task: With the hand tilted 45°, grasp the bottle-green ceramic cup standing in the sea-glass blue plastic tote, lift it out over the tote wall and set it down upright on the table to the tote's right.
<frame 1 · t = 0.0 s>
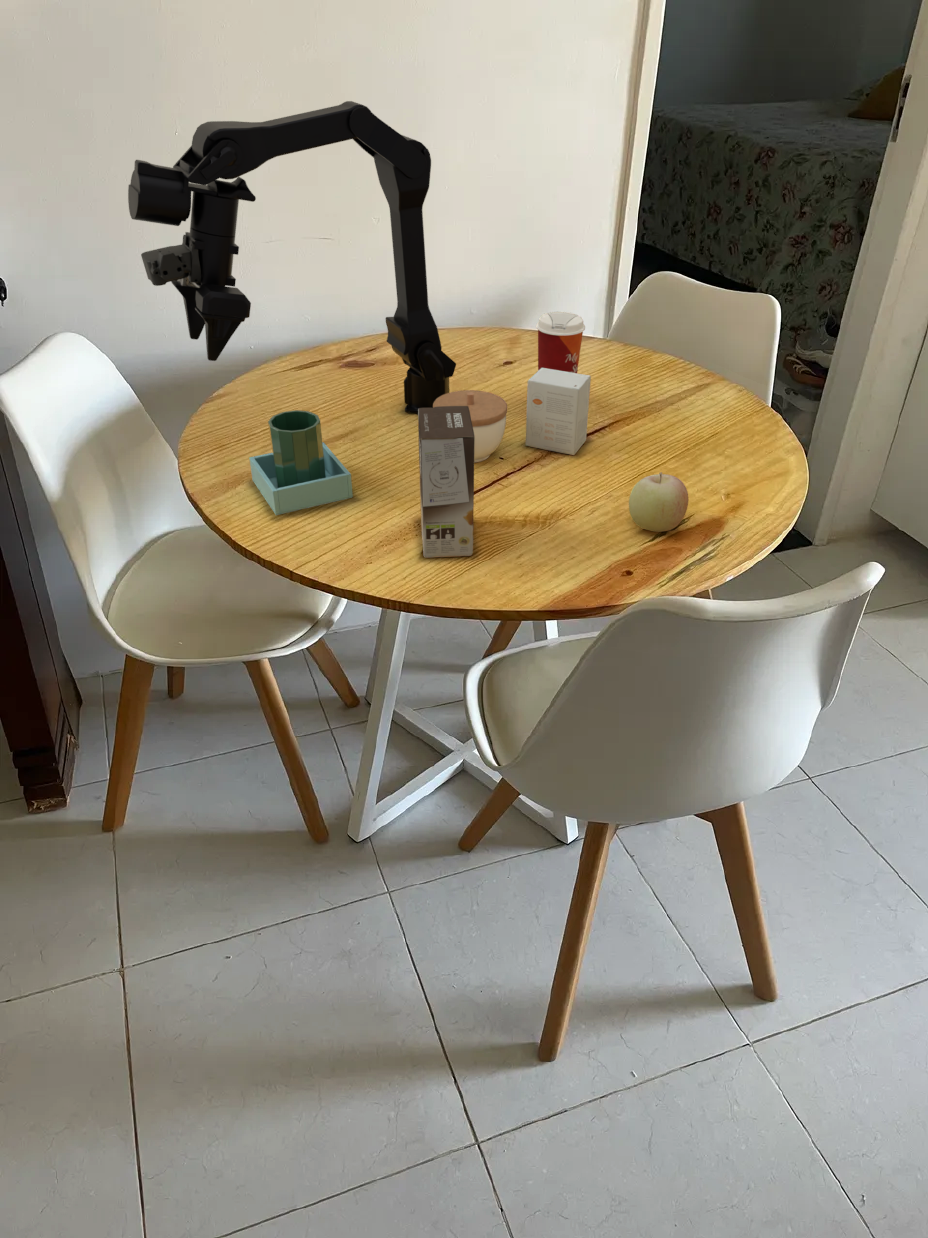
hand: (202, 349, 127), 15 cm above the table, tool pointing down, fingers open, 9 cm apart
trinket box: (469, 454, 136), on the table
cup: (301, 488, 127), resting on bin
fruit: (655, 527, 120), on the table
bin: (302, 491, 127), on the table
coffee box: (446, 539, 117), on the table
paper cup: (555, 404, 151), on the table
small box: (555, 445, 139), on the table
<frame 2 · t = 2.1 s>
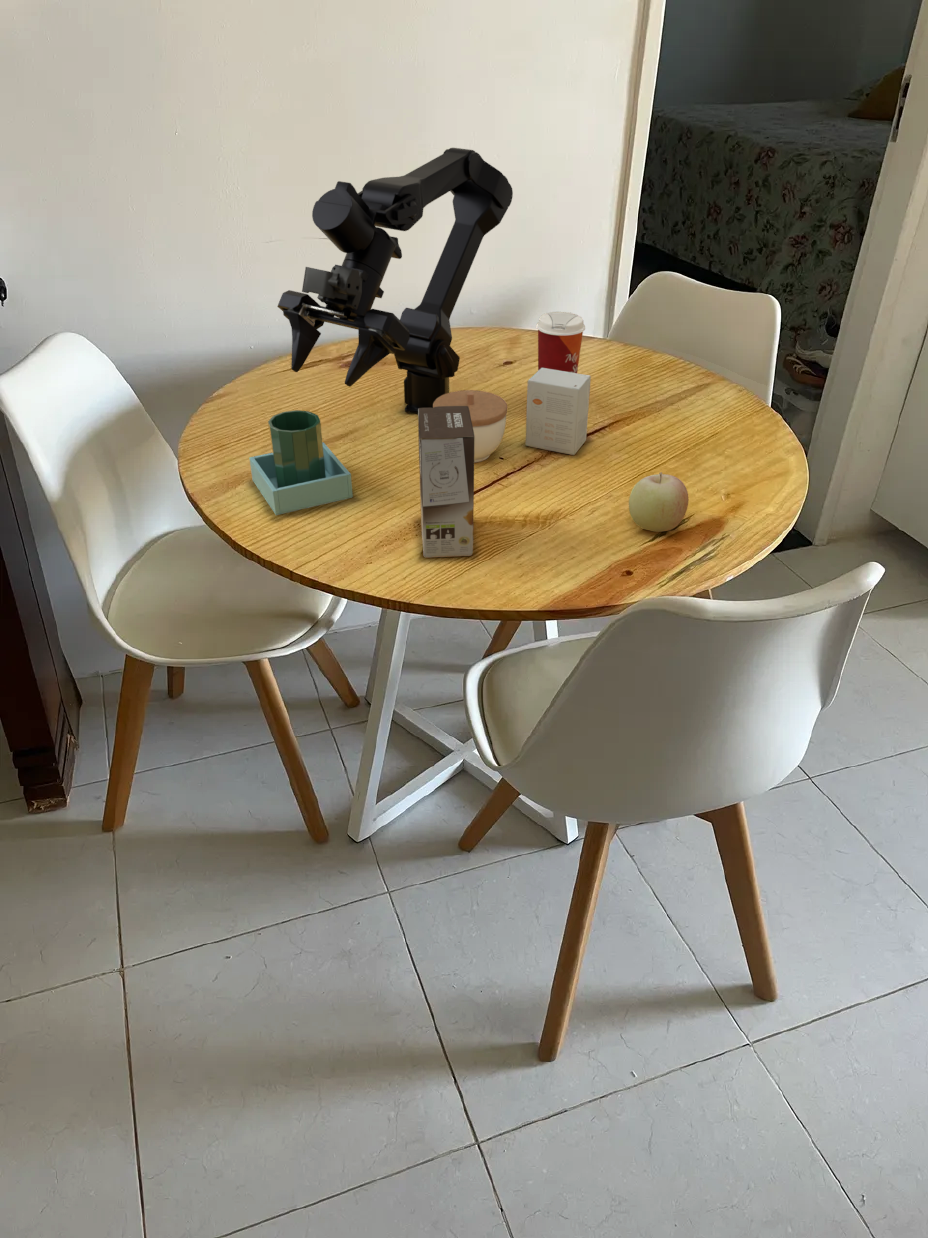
hand: (320, 377, 124), 14 cm above the table, tool tilted 45°, fingers open, 9 cm apart
nothing on the table moved.
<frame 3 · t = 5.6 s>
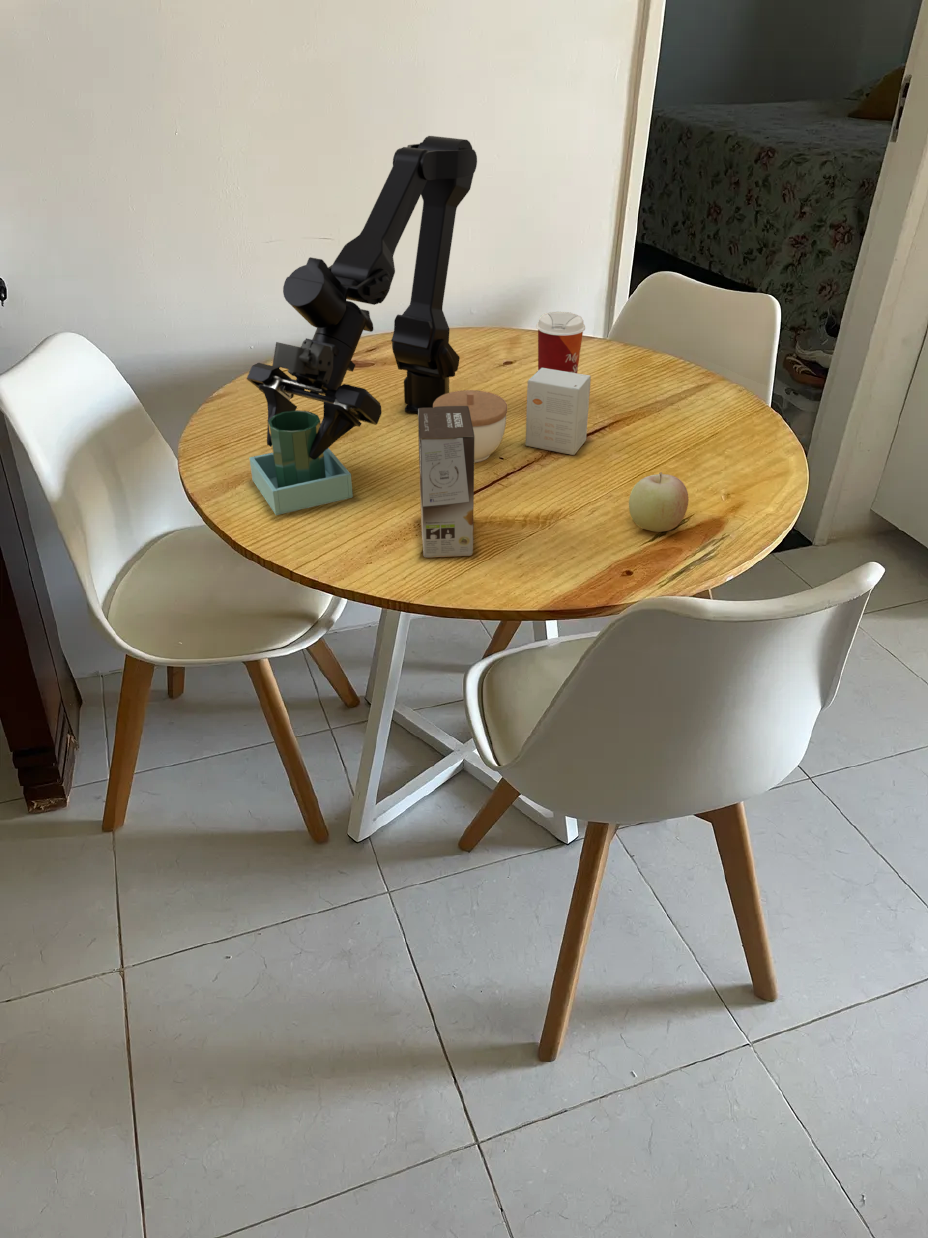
hand: (290, 451, 122), 7 cm above the table, tool tilted 45°, fingers closed on cup, 7 cm apart
cup: (301, 488, 127), point 1 cm above the table, touching bin, gripper
everything else where it was.
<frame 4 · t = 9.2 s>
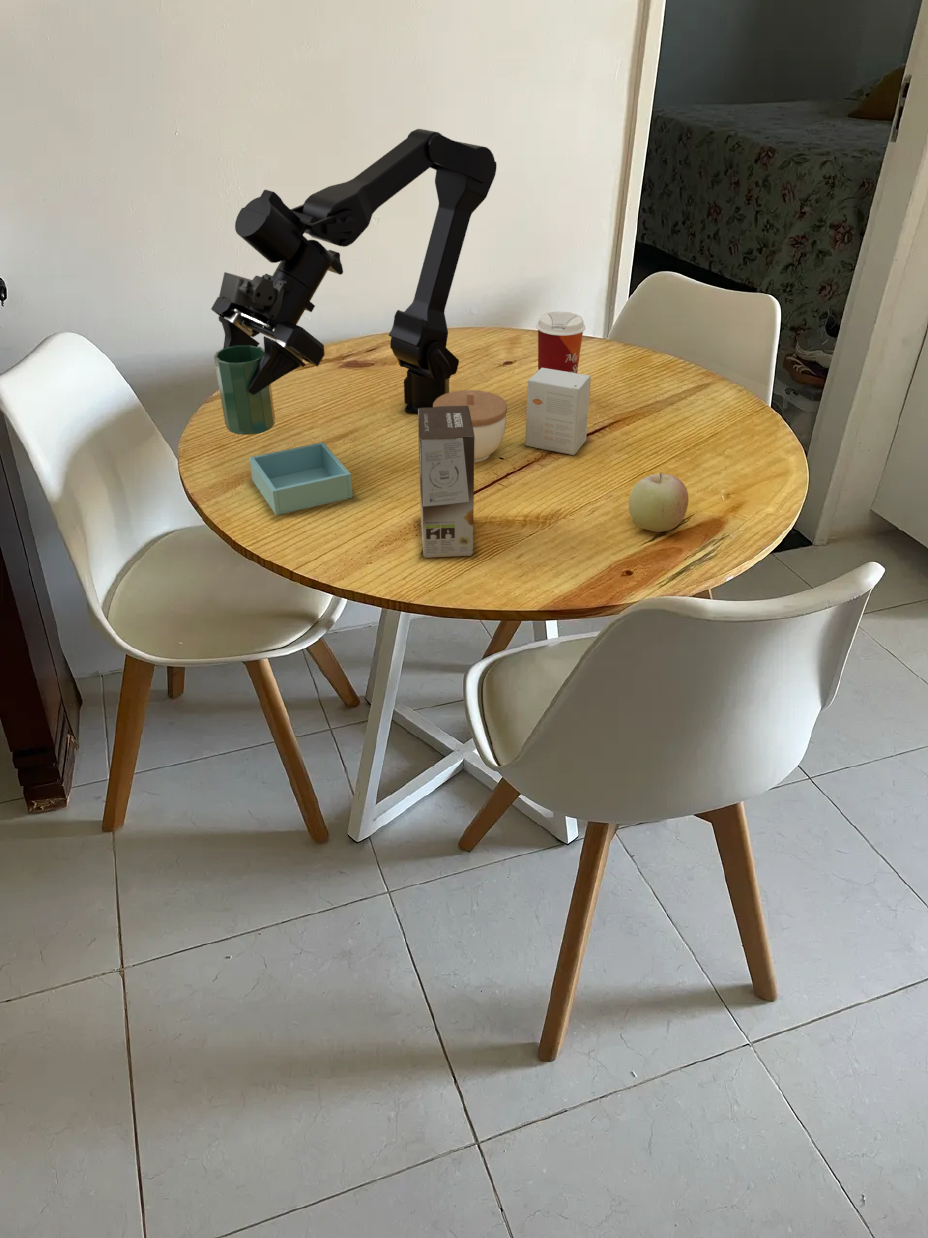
hand: (235, 384, 123), 13 cm above the table, tool tilted 45°, fingers closed on cup, 7 cm apart
cup: (250, 424, 127), point 7 cm above the table, touching gripper
everything else where it was.
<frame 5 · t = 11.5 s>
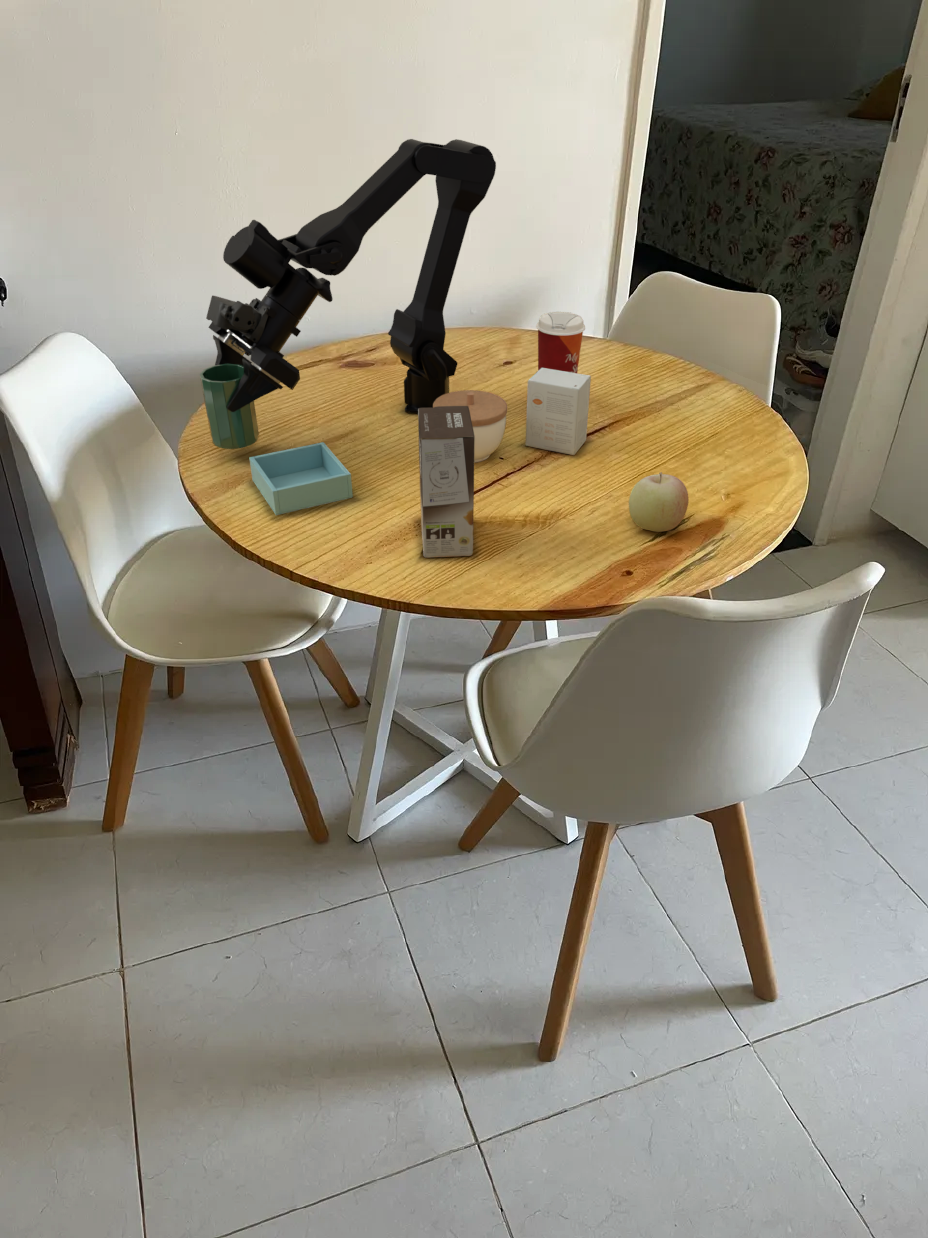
hand: (219, 401, 129), 9 cm above the table, tool tilted 45°, fingers closed on cup, 7 cm apart
cup: (235, 438, 133), point 3 cm above the table, touching gripper
everything else where it was.
when the fingers open (6 cm above the table, at t = 13.0 s): cup stays where it is, on the table.
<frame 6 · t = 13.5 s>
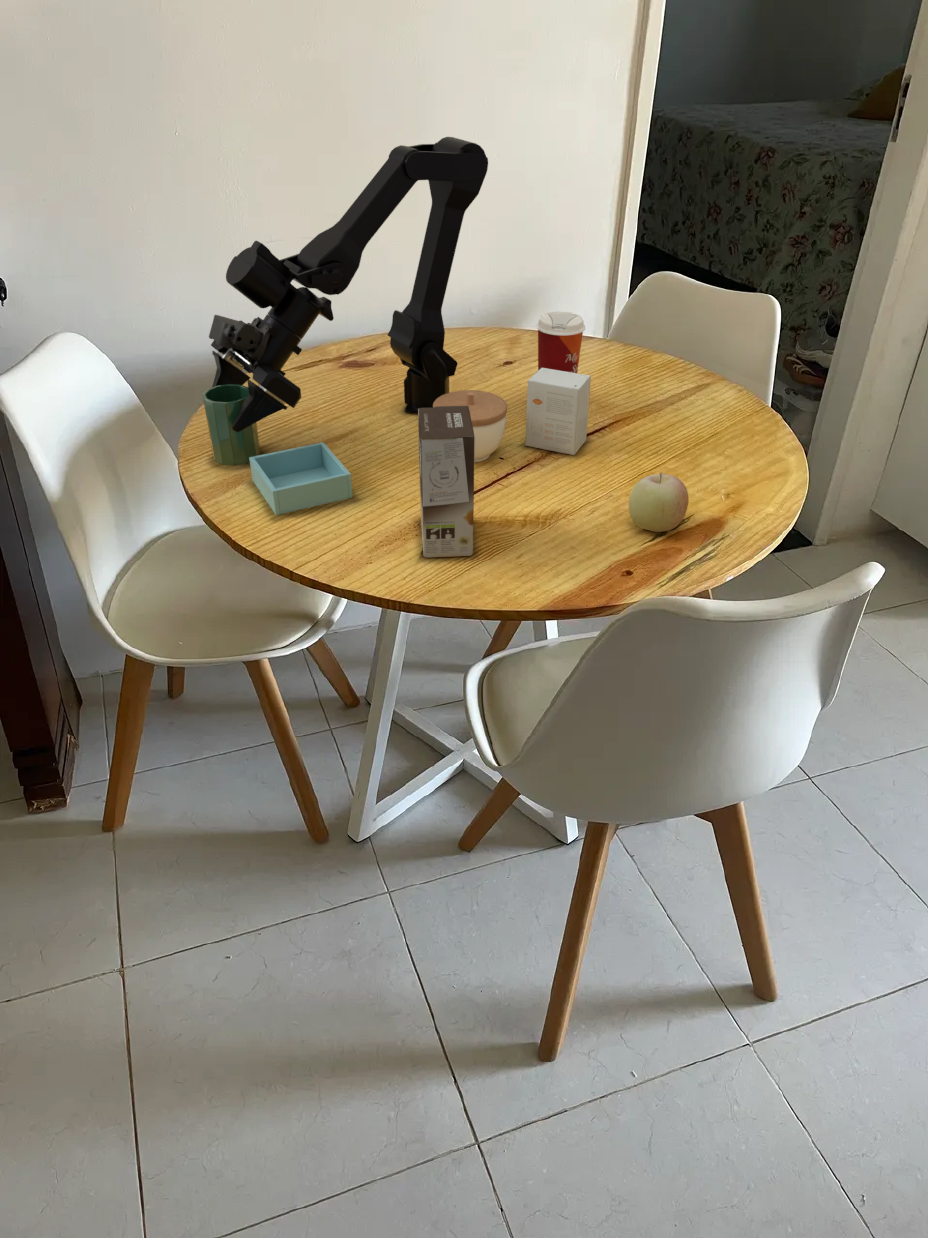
hand: (221, 418, 130), 7 cm above the table, tool tilted 45°, fingers open, 9 cm apart
cup: (237, 457, 135), on the table
everything else where it was.
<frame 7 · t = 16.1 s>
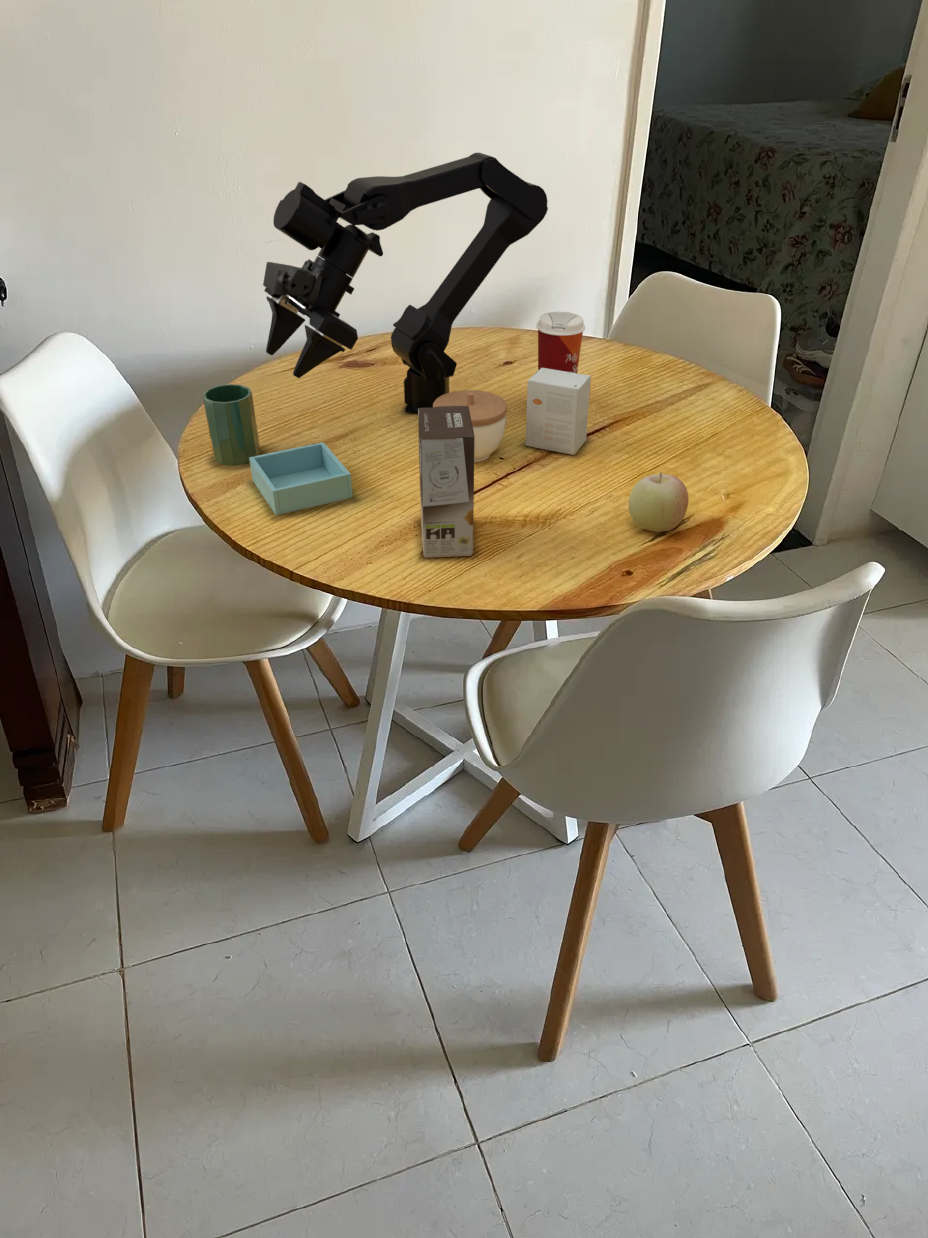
hand: (282, 364, 133), 12 cm above the table, tool tilted 35°, fingers open, 9 cm apart
nothing on the table moved.
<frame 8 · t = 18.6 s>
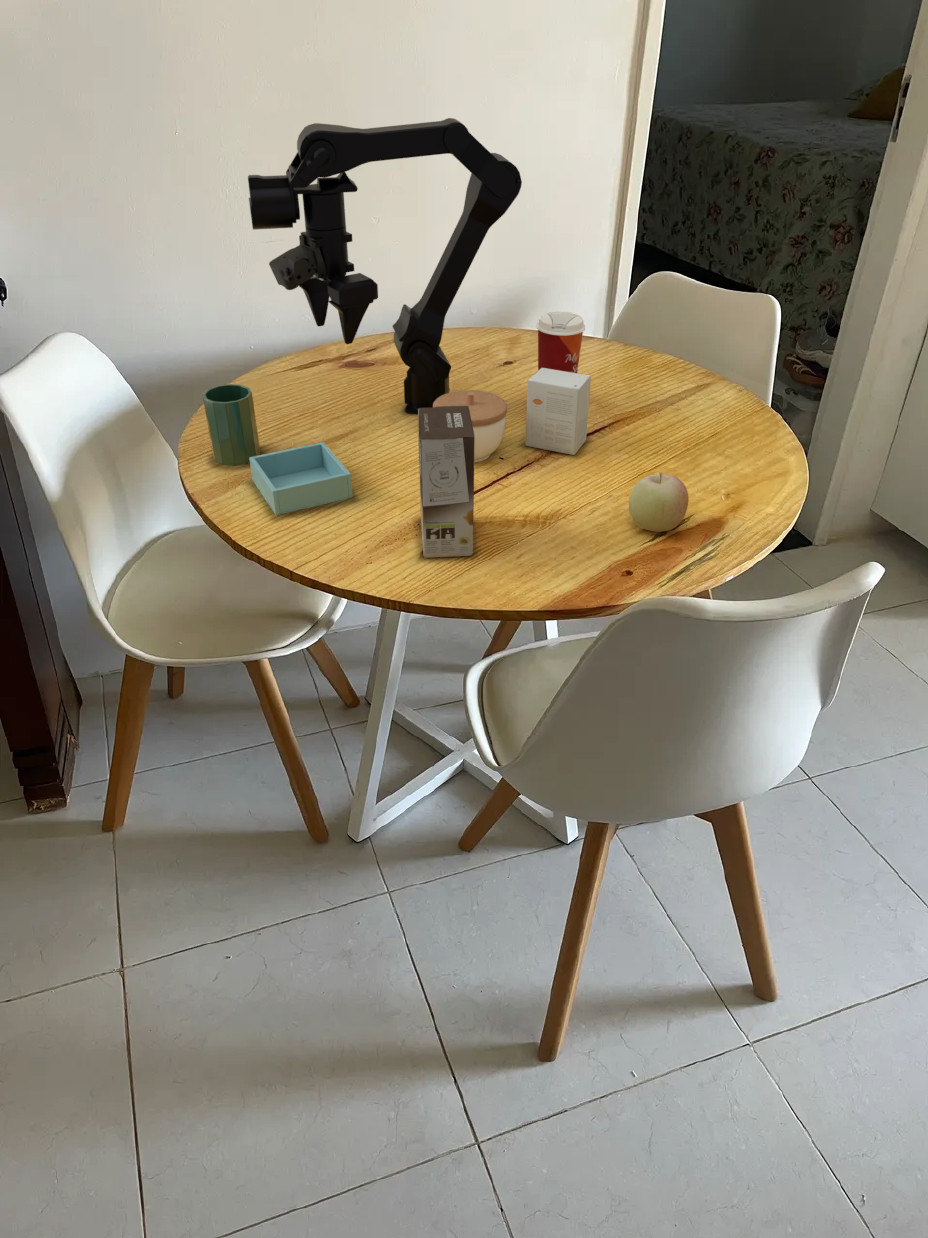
hand: (334, 334, 139), 13 cm above the table, tool pointing down, fingers open, 9 cm apart
nothing on the table moved.
at the end: cup inside the target area (0.1 cm from its centre), on the table; cup tilted 0°; cup touching table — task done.
